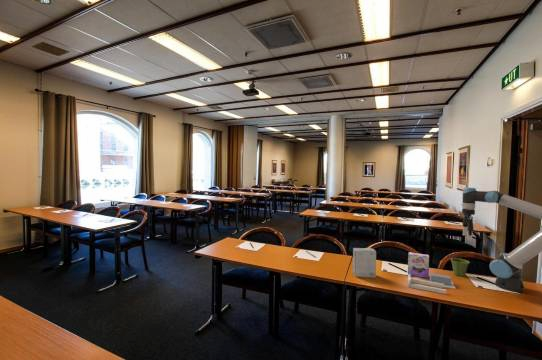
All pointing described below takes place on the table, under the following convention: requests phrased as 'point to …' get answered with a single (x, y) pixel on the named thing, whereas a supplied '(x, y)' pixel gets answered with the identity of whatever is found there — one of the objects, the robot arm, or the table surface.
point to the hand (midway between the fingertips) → (467, 237)
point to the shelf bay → (426, 286)
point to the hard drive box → (364, 262)
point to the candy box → (418, 265)
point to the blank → (440, 279)
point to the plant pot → (459, 266)
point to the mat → (450, 286)
